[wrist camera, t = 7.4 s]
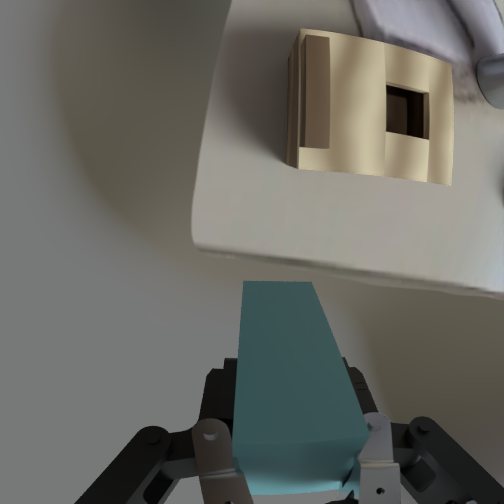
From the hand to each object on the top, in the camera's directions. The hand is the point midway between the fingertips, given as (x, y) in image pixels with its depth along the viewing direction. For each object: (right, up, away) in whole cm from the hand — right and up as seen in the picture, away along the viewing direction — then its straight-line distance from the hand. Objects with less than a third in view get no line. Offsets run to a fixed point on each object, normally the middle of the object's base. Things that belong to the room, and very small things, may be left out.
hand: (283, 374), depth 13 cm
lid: (+11, +20, +12) cm, 26 cm away
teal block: (0, +2, +5) cm, 6 cm away
